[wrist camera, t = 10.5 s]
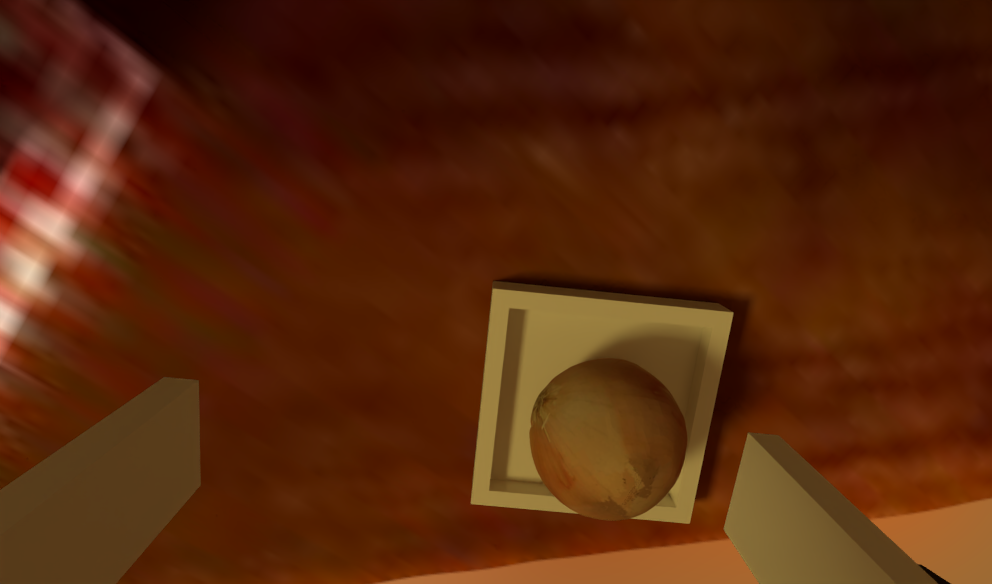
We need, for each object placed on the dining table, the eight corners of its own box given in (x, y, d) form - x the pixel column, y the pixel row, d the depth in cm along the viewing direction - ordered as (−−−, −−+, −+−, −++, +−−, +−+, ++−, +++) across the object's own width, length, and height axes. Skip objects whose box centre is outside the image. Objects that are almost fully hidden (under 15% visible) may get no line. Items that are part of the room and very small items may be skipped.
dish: (472, 483, 41) (470, 503, 38) (493, 280, 37) (492, 288, 35) (678, 502, 41) (689, 523, 39) (718, 303, 38) (733, 312, 35)
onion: (548, 320, 37) (567, 374, 27) (681, 361, 37) (746, 429, 28) (505, 441, 39) (508, 532, 29) (632, 478, 40) (676, 579, 30)
